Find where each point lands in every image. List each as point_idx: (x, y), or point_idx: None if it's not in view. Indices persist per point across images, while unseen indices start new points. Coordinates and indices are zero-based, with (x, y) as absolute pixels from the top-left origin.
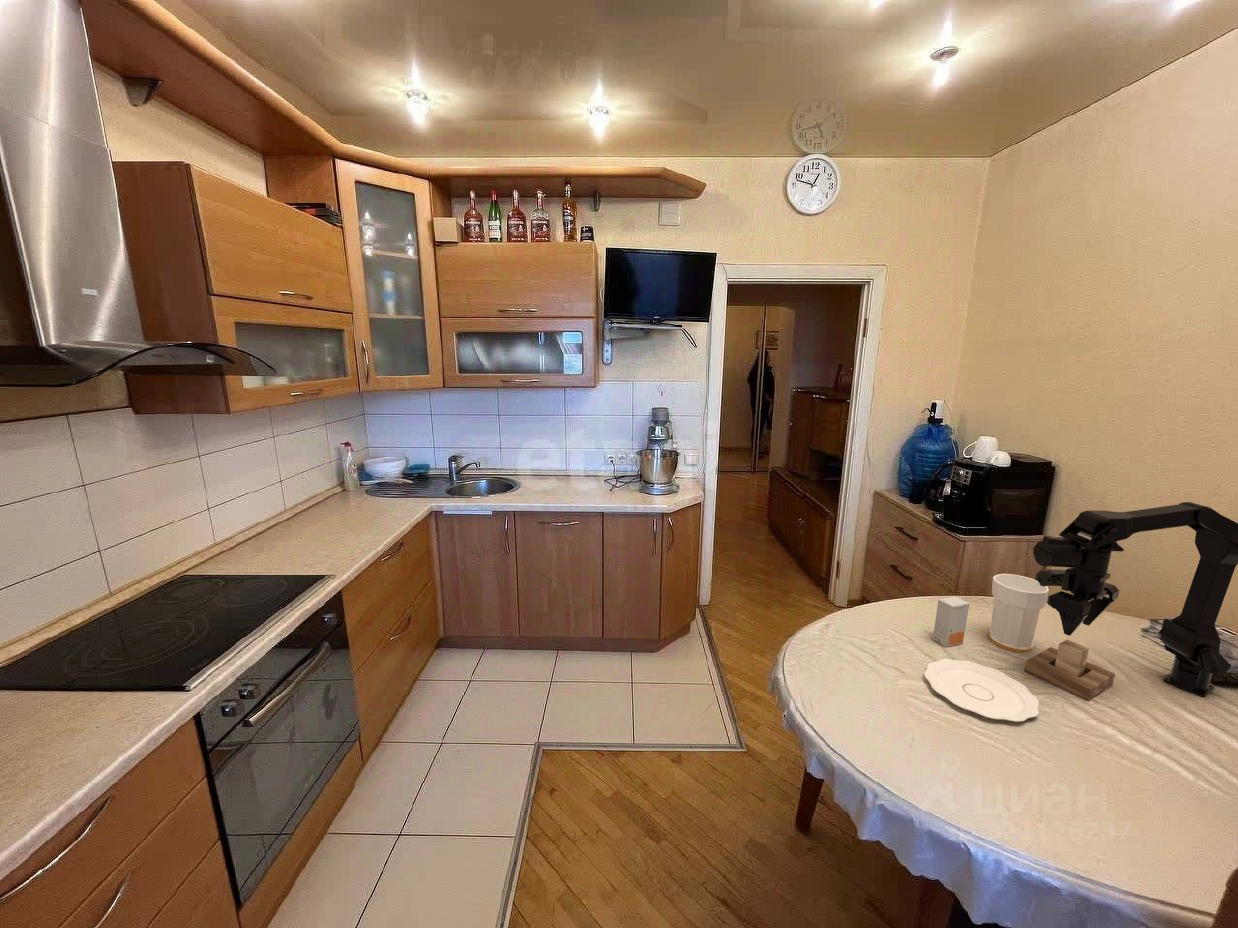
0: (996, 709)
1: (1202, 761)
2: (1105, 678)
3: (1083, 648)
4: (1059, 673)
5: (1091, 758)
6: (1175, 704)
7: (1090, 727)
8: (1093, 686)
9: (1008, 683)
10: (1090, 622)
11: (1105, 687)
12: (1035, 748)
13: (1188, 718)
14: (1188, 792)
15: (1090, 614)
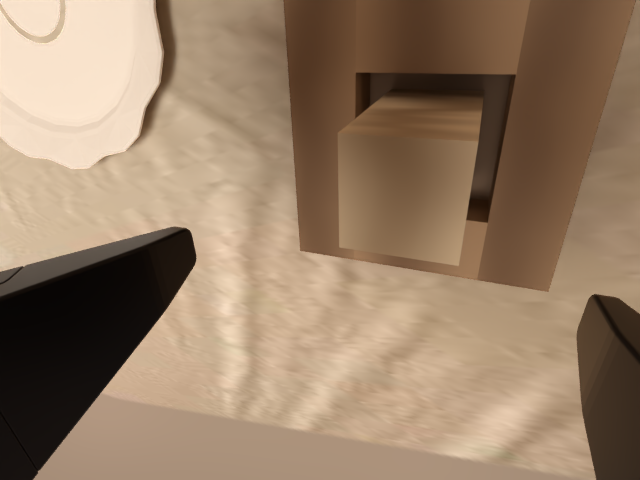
0: (26, 77)
1: (301, 406)
2: (447, 271)
3: (416, 245)
4: (309, 143)
5: None
6: (568, 396)
7: (197, 253)
8: (332, 251)
9: (139, 24)
10: (580, 377)
11: None
12: (23, 197)
13: (493, 411)
14: (183, 379)
15: (626, 463)
